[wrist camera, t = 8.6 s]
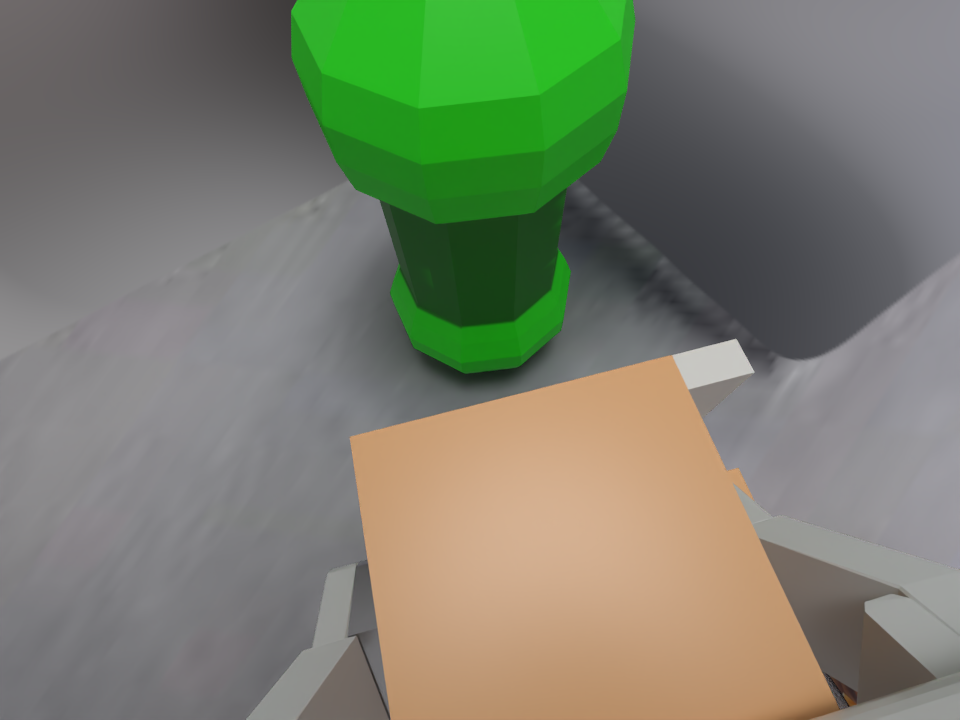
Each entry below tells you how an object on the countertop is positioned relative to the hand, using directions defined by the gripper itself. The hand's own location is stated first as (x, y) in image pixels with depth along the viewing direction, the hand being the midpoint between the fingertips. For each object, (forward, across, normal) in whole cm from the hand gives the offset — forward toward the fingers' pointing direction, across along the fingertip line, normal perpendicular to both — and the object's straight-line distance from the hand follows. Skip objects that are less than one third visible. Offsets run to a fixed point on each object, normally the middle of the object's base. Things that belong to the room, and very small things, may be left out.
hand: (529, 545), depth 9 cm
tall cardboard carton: (+4, 0, +5) cm, 6 cm away
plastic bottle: (+22, -2, +2) cm, 23 cm away
